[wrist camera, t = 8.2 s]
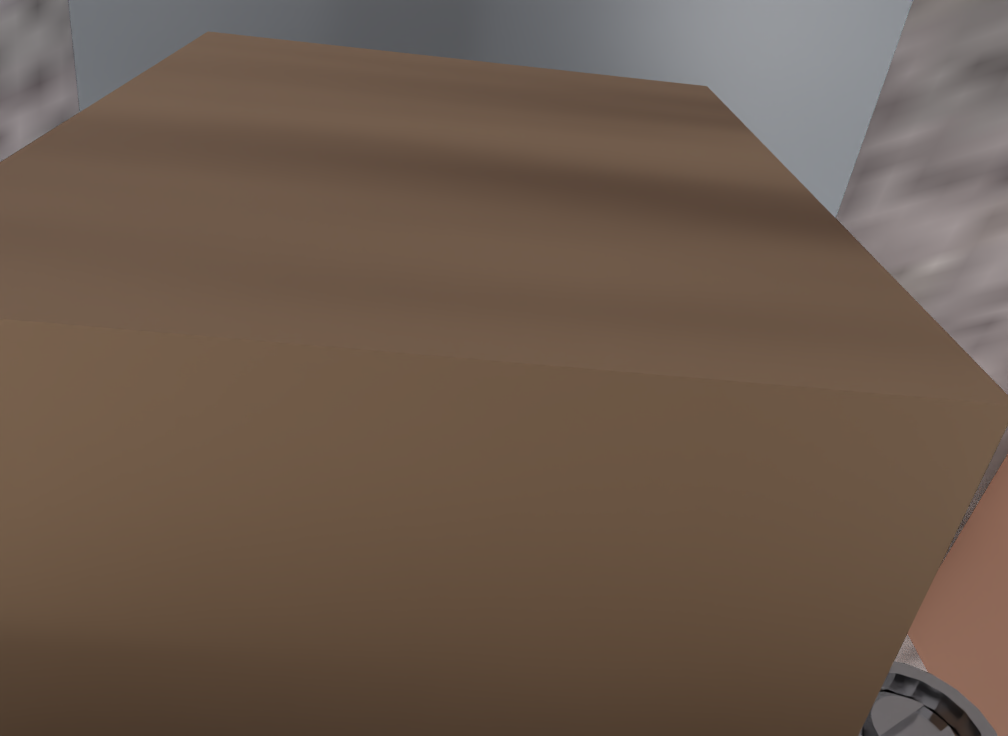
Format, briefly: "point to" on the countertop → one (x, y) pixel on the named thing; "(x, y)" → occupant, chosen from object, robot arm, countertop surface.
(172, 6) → the baseplate
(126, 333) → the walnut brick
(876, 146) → the countertop surface
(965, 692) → the terracotta brick
